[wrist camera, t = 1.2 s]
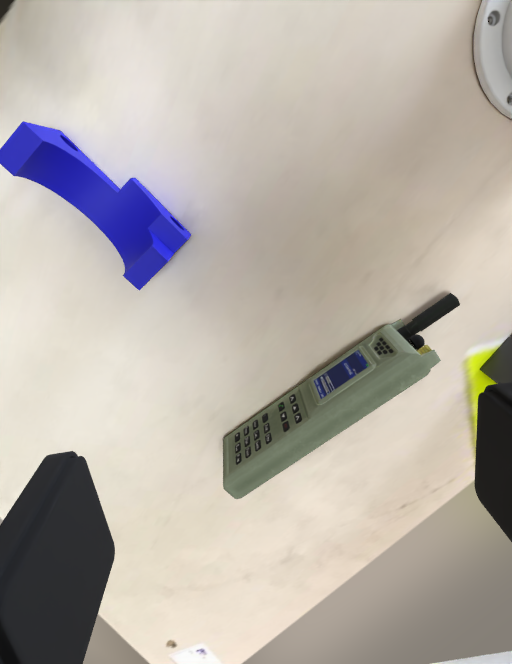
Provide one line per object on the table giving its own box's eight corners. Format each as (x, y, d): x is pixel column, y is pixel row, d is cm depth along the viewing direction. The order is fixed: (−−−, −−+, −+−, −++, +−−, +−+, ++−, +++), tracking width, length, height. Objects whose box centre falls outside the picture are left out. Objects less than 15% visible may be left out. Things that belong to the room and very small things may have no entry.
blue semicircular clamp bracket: (191, 234, 35) (183, 246, 29) (154, 272, 36) (139, 290, 30) (73, 115, 32) (38, 102, 26) (35, 160, 33) (-7, 157, 27)
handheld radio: (217, 434, 42) (439, 278, 37) (238, 455, 43) (456, 306, 38) (216, 483, 36) (482, 302, 31) (241, 505, 37) (501, 335, 32)
